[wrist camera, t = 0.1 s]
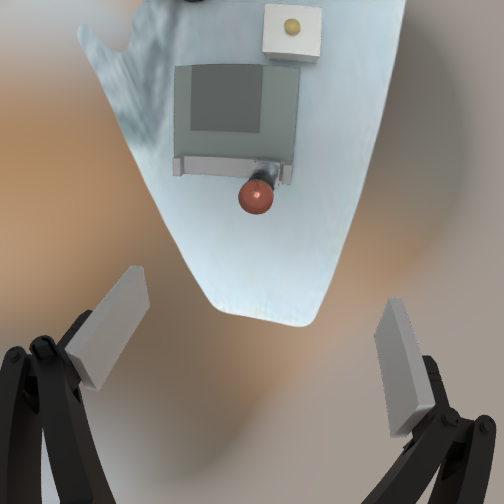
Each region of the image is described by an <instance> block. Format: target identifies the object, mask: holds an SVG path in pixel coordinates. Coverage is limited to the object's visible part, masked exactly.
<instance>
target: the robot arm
mask: <svg viewBox="0 0 504 504" xmlns="http://www.w3.org/2000/svg"><path fill="white" fill-rule="evenodd" d="M149 307H150V303H149V298H148V292H147V287H146V282H145V275H144V269H143V267H140V266H134V265H131V266H130V267H129V268H128V269H127V271H126V272H125V273H124V274H123V275H122V276H121V278H120V279H119V280H118V281H117V282H116V284H115V285H114V286H113V287H112V288H111V290H110V291H109V292H108V293H107V295H106V296H105V297H104V299H102V301H101V302H100V303H99V305H98V306H97V307H96V308H95V310H94V311H91V310H87V311H85V312H84V313H82V314H81V315H80V316H79V317H78V318H77V319H76V321H75V322H74V324H72V326H71V327H70V329H68V331H67V332H66V333H65V335H64V336H63V337H62V339H61V340H60V341H59V342H58V344H57V345H55V342H54V340H53V339H52V338H51V337H50V336H46V335H44V336H40V337H37V338H36V339H35V340H33V341H32V343H31V344H30V348H29V350H30V351H31V353H32V355H31V354H27V353H26V352H25V350H24V349H23V348H22V347H20V346H16V347H12V348H11V349H9V350H8V351H7V353H6V354H5V357H4V360H3V363H2V367H1V370H0V504H42V497H41V445H42V429H43V430H44V437H45V442H46V447H47V452H48V457H49V462H50V466H51V470H52V474H53V478H54V481H55V485H56V489H57V492H58V496H59V499H60V504H116V502H115V499H114V497H113V495H112V492H111V490H110V487H109V485H108V482H107V480H106V477H105V474H104V472H103V469H102V466H101V463H100V460H99V457H98V455H97V451H96V448H95V445H94V442H93V438H92V435H91V431H90V428H89V424H88V420H87V416H86V413H85V409H84V405H83V400H82V396H81V391H80V388H79V386H78V385H79V383H80V381H81V380H82V382H83V384H84V386H85V387H86V388H88V389H91V390H93V391H96V392H99V390H100V389H101V387H102V385H103V383H104V381H105V380H106V378H107V376H108V375H109V373H110V371H111V369H112V368H113V366H114V364H115V363H116V361H117V359H118V357H119V356H120V354H121V352H122V351H123V349H124V347H125V346H126V344H127V342H128V341H129V339H130V337H131V336H132V334H133V332H134V331H135V329H136V328H137V326H138V324H139V323H140V321H141V319H142V318H143V316H144V315H145V313H146V312H147V310H148V308H149ZM374 338H375V343H376V348H377V353H378V358H379V363H380V369H381V374H382V380H383V386H384V392H385V398H386V405H387V412H388V420H389V428H390V436H391V438H399V437H406V436H407V435H408V434H409V433H410V432H411V431H412V435H413V438H412V439H411V440H410V441H409V442H408V443H407V444H406V445H405V446H404V447H403V448H404V450H403V452H402V453H401V455H400V456H399V457H398V459H397V460H396V461H395V463H394V464H393V465H392V467H391V468H390V469H389V471H388V472H387V473H386V475H385V476H384V477H383V478H382V480H381V481H380V482H379V483H378V484H377V486H376V487H375V488H374V489H373V490H372V492H371V493H370V494H369V495H368V496H367V497H366V498H365V500H364V501H363V502H362V503H361V504H416V502H417V501H418V500H419V498H420V497H421V495H422V493H423V492H424V491H425V489H426V487H427V486H428V484H429V483H430V481H431V479H432V478H433V476H434V474H435V473H436V471H437V469H438V468H439V466H440V469H439V472H438V475H437V478H436V481H435V484H434V487H433V490H432V493H431V496H430V498H429V501H428V504H483V502H484V498H485V494H486V489H487V486H488V481H489V476H490V471H491V465H492V460H493V453H494V446H495V438H496V424H495V422H494V420H493V419H492V418H491V417H490V416H488V415H481V416H479V417H478V418H477V419H476V420H475V421H474V420H469V419H465V418H461V417H460V415H459V413H458V412H457V411H456V410H455V409H453V408H451V407H450V406H449V402H448V399H447V395H446V392H445V389H444V385H443V382H442V381H441V380H442V379H441V376H440V374H439V370H438V366H437V363H436V362H435V361H434V360H433V358H432V357H431V356H422V355H421V352H420V349H419V346H418V343H417V340H416V337H415V334H414V331H413V328H412V325H411V322H410V319H409V317H408V314H407V311H406V309H405V306H404V303H403V301H402V299H399V298H389V299H388V301H387V304H386V307H385V309H384V312H383V315H382V317H381V319H380V322H379V325H378V327H377V329H376V332H375V334H374ZM440 464H441V465H440Z"/></svg>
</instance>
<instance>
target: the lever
mask: <svg viewBox="0 0 504 504" xmlns="http://www.w3.org/2000/svg"><path fill="white" fill-rule="evenodd" d="M280 167H281V160H279V159H269V158H257V157H255V158H254V160H253V171H252V175H251V177H250V179H249V180H248V182H246V183H245V184H244V185H243V186H242V188H241V190H240V192H239V195H238V199H239V203H240V205H241V207H242V208H243V209H244V210H245V211H246V212H248V213H251V214H262V213H265V212H266V211H268V210H269V208H270V207H271V205H272V202H273V198H274V194H273V191H274V188H278V187H279V179H280Z"/></svg>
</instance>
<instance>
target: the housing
mask: <svg viewBox="0 0 504 504" xmlns="http://www.w3.org/2000/svg"><path fill="white" fill-rule="evenodd" d="M321 24H322V8H318V7H309V6H299V5H285V4H265V14H264V32H263V49H262V52H263V53H264V54H265V55H266V57H267V58H268V59H270V60H286V61H297V62H307V63H317V61H318V59H319V57H320V44H321Z"/></svg>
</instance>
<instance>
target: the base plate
mask: <svg viewBox="0 0 504 504" xmlns="http://www.w3.org/2000/svg"><path fill="white" fill-rule="evenodd" d="M299 75H300V68H297V67H286V66H271V65H255V64H206V65H189V66H175V76H174V158H173V176H181V175H183V174H203V175H218V176H232V177H245V178H250V177H251V175H252V171H253V160H254V158H255V157H257V158H269V159H279V160H281V167H280V179H279V181H282V184H285V185H290V182H291V172H292V162H293V151H294V139H295V128H296V115H297V103H298V89H299Z"/></svg>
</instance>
